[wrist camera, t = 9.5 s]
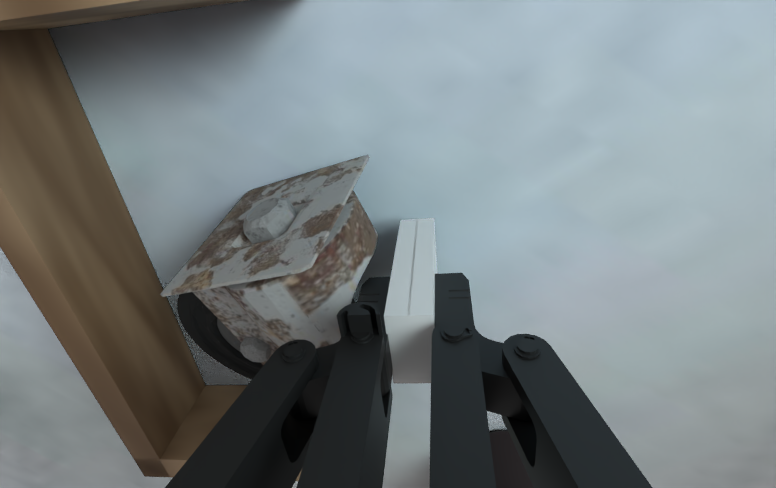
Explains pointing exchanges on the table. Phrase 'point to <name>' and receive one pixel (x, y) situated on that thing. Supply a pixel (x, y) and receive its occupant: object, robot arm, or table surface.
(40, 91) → the bay
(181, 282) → the caster wheel
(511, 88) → the table surface
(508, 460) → the bottle
